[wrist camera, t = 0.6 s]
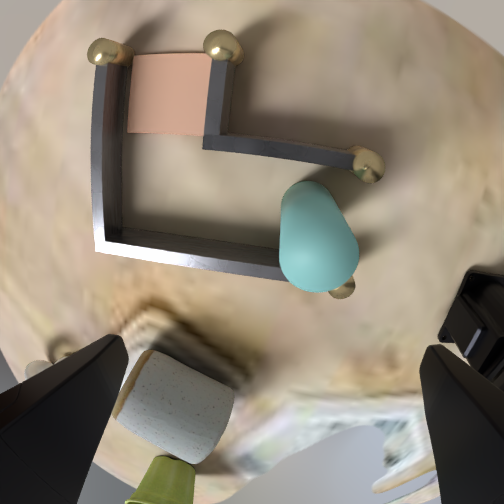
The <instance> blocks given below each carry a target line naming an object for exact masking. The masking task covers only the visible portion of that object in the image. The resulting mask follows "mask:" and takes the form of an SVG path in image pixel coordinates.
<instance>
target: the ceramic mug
mask: <svg viewBox="0 0 504 504" xmlns="http://www.w3.org/2000/svg"><path fill="white" fill-rule="evenodd" d="M233 403H234V392H233V390H232V389H231V388H230V387H228V386H226V385H224V384H222V383H220V382H218V381H216V380H214V379H212V378H210V377H208V376H206V375H204V374H202V373H200V372H198V371H196V370H194V369H192V368H190V367H188V366H186V365H184V364H182V363H180V362H178V361H177V360H175V359H173V358H171V357H170V356H167V355H165V354H163V353H160V352H158V351H155V350H146V351H144V352H143V353H142V354H141V356H140V357H139V359H138V361H137V362H136V364H135V366H134V367H133V369H132V371H131V373H130V374H129V376H128V378H127V380H126V381H125V383H124V385H123V387H122V389H121V391H120V392H119V394H118V397H117V400H116V403H115V406H114V408H113V411H112V416H113V417H114V418H115V419H116V420H117V421H118V422H119V423H120V424H121V425H123V426H124V427H125V428H126V429H128V430H130V431H131V432H133V433H134V434H136V435H138V436H140V437H142V438H144V439H145V440H147V441H149V442H151V443H152V444H154V445H156V446H158V447H159V448H161V449H163V450H165V451H167V452H169V453H171V454H173V455H175V456H177V457H178V458H180V459H182V460H184V461H186V462H188V463H191V464H198V463H200V462H201V461H203V460H204V459H205V458H206V457H207V456H208V455H209V454H210V453H211V452H212V451H213V450H214V448H215V447H216V446H217V444H218V442H219V440H220V438H221V436H222V435H223V433H224V431H225V429H226V427H227V424H228V421H229V418H230V415H231V411H232V408H233Z"/></svg>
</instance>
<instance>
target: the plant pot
mask: <svg viewBox="0 0 504 504" xmlns="http://www.w3.org/2000/svg"><path fill="white" fill-rule="evenodd" d="M194 484H195V469H194V468H193V467H192V466H191V465H189V464H187V463H186V462H184V461H181V460H173V459H170V458H169V457H166V456H158V457H155V458H154V459H153V461H152V463H151V465H150V467H149V468H148V470H147V472H146V474H145V476H144V478H143V479H142V481H141V483H140V485H139V487H138V488H137V490H136V492H135V493H133V494H132V495H131V498H130V499H128V500H126V501H125V504H193V497H194Z"/></svg>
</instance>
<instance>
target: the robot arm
mask: <svg viewBox="0 0 504 504" xmlns="http://www.w3.org/2000/svg"><path fill="white" fill-rule="evenodd" d="M471 276H472V277H471ZM470 277H471V278H470ZM469 278H470V279H469ZM443 336H444V337H443ZM438 339H439V341H440V342H442V343H455V344H456V345H457V347H458V349H459V351H460V352H461V354H462V356H463V357H464V358H466V359H467V361H468V363H469V364H470V366H469V365H468V364H467V363H465V362H464V361H463V360H462V359H460V358H459V357H458V356H456V355H455V354H454V353H452V352H451V351H450V350H448V349H447V348H446V347H444V346H443V345H441V344H435V345H429V346H428V347H427V349H426V351H425V354H424V357H423V359H422V362H421V365H420V370H419V373H420V379H421V386H422V393H423V400H424V408H425V415H426V421H427V425H428V430H429V434H430V439H431V444H432V449H433V454H434V459H435V464H436V470H437V476H438V482H439V489H440V496H441V503H442V504H504V276H503V275H497V274H491V273H486V272H480V271H474V270H469V271H468V272H467V273H466V274H465V276H464V279H463V281H462V284H461V286H460V289H459V291H458V293H457V296H456V298H455V300H454V302H453V305H452V307H451V309H450V311H449V313H448V315H447V318H446V320H445V322H444V324H443V326H442V328H441V330H440V332H439V334H438ZM128 361H129V357H128V353H127V350H126V347H125V344H124V342H123V339H122V337H121V336H119V335H114V334H108V335H106V336H104V337H102V338H100V339H99V340H97V341H95V342H93V343H91V344H90V345H88V346H86V347H84V348H82V349H81V350H79V351H77V352H75V353H73V354H72V355H70V356H68V357H66V358H65V359H63V360H61V361H59V362H57V363H56V364H54V365H52V366H50V367H48V368H47V369H45V370H43V371H41V372H39V373H38V374H36V375H34V376H32V377H30V378H29V379H27V380H25V381H23V382H22V383H19V384H18V385H16V386H14V387H12V388H11V389H9V390H7V391H5V392H3V393H1V394H0V504H77V502H78V499H79V496H80V493H81V490H82V488H83V485H84V482H85V479H86V477H87V474H88V471H89V468H90V466H91V463H92V461H93V458H94V455H95V453H96V450H97V448H98V445H99V443H100V440H101V438H102V435H103V433H104V430H105V428H106V425H107V423H108V420H109V418H110V415H111V413H112V411H113V408H114V406H115V403H116V400H117V397H118V394H119V391H120V388H121V384H122V381H123V378H124V375H125V371H126V368H127V365H128Z"/></svg>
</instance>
